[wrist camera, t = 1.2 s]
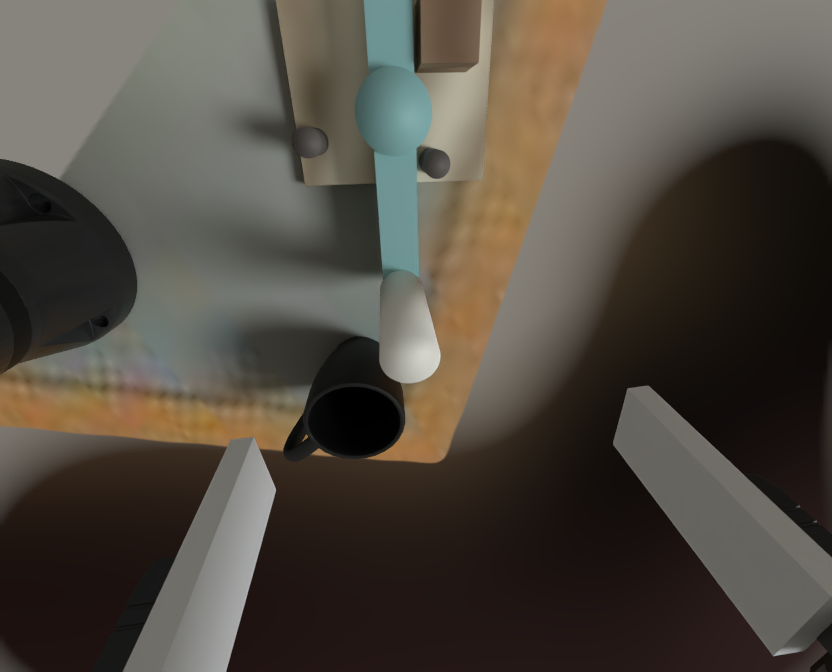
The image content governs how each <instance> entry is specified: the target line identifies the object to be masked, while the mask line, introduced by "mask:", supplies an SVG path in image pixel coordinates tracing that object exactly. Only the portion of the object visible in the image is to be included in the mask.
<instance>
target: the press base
mask: <svg viewBox="0 0 832 672" xmlns="http://www.w3.org/2000/svg"><path fill="white" fill-rule="evenodd" d="M416 1H417V0H413V39H414V74H415V75H416V76H417V77H418V78H419V79H420V80H421V81H422V82H423V84H424V85H425V87H426V89H427V91H428V94H429V96H430V100H431V105H432V120H431V125H430V129H429V131H428V134H427V136H426V138H425V139H424V141H423V142H422V143H421V144H420V145H419V146H418V147H417V148H416V152H417V182H436V181H466V180H483V165H484V149H485V133H486V117H487V101H488V85H489V69H490V53H491V37H492V21H493V5H494V0H482V8H481V28H480V48H479V63H478V64H476V65H475V66H473V67H472V68H471V69H469V70H468V71H467V72H453V73H416V46H415V4H416ZM276 5H277V11H278V18H279V24H280V30H281V36H282V43H283V49H284V55H285V62H286V68H287V74H288V80H289V87H290V93H291V99H292V105H293V112H294V118H295V124H296V131H295V132H294V134H293V136H292V145H293V148H294V150H295V151H296V153H297V154H298V155H300V156H301V162H302V168H303V174H304V181H305V186H317V185H347V184H376V171H375V157H374V149H373V148H372V147H371V146H370V145H369V144H368V143H367V142H366V141H365V140H364V138H363V137H362V135H361V133H360V131H359V128H358V126H357V122H356V117H355V102H356V97H357V94H358V91H359V89H360V87H361V85H362V83H363V82H364V80H365V79H366V78H367V77H368V76H369V68H368V54H367V39H366V25H365V11H364V0H276Z"/></svg>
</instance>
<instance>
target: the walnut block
mask: <svg viewBox="0 0 832 672" xmlns="http://www.w3.org/2000/svg"><path fill="white" fill-rule="evenodd" d="M481 8H482V0H417V1H416V4H415V46H416V73H453V72H467V71H468V70H469V69H471V68H472V67H473V66H475V65H476V64H478V63H479V48H480V28H481Z"/></svg>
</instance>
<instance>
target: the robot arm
mask: <svg viewBox="0 0 832 672" xmlns="http://www.w3.org/2000/svg"><path fill="white" fill-rule="evenodd" d="M136 293H137V278H136V271H135V267H134V264H133V260H132V258H131V255H130V253H129V251H128V249H127V247H126V245H125V243H124V241H123V240H122V238H121V236H120V235H119V233H118V232H117V230H116V229H115V228H114V226H113V225H112V224H111V223H110V221H109V220H108V219H107V218H106V217H105V216H104V215H103V214H102V213H101V212H100V211H99V210H98V209H97V208H96V207H95V206H94V205H93V204H92V203H91V202H90V201H89V200H87V199H86V198H85V197H84V196H82V195H81V194H80V193H78V192H77V191H76V190H74V189H73V188H71V187H70V186H68V185H67V184H65V183H63V182H62V181H60V180H58V179H56V178H55V177H53V176H50V175H49V174H47V173H45V172H42V171H40V170H37V169H35V168H33V167H30V166H26V165H24V164H21V163H17V162H13V161H9V160H4V159H0V374H2V373H4V372H5V371H7V370H8V369H10V368H12V367H13V366H15V365H16V364H18V363H22V362H25V361H29V360H33V359H37V358H40V357H44V356H48V355H52V354H55V353H59V352H63V351H67V350H70V349H74V348H78V347H81V346H84V345H87V344H89V343H92V342H94V341H96V340H98V339H100V338H101V337H103V336H104V335H106V334H107V333H108V332H110V331H111V330H112V329H114V328H115V327H117V326H118V325H119V324H120V323H121V322H123V321H124V320H125V318H126V317H127V316H128V314H129V313H130V311H131V309H132V307H133V305H134V302H135V299H136ZM613 445H614V446H615V447H616V448H617V450H618V451H619V453H620V454H621V455H622V456H623V457H624V459H625V460H626V462H627V463H628V464H629V466H630V467H631V468H632V470H633V471H634V472H635V474H636V475H637V476H638V478H639V479H640V480H641V482H642V483H643V484H644V486H645V487H646V488H647V490H648V491H649V492H650V493H651V495H652V496H653V498H654V499H655V500H656V501H657V503H658V504H659V505H660V507H661V508H662V509H663V511H664V512H665V513H666V515H667V516H668V517H669V519H670V520H671V521H672V523H673V524H674V525H675V527H676V528H677V529H678V530H679V532H680V533H681V534H682V536H683V537H684V539H685V540H686V541H687V542H688V544H689V545H690V546H691V548H692V549H693V550H694V552H695V553H696V554H697V556H698V557H699V558H700V560H701V561H702V562H703V564H704V565H705V566H706V567H707V569H708V570H709V572H710V573H711V574H712V576H713V577H714V578H715V579H716V581H717V582H718V583H719V585H720V586H721V587H722V589H723V590H724V591H725V593H726V594H727V595H728V597H729V598H730V599H731V601H732V602H733V603H734V605H735V606H736V607H737V608H738V610H739V611H740V613H741V614H742V615H743V616H744V618H745V619H746V620H747V622H748V623H749V624H750V626H751V627H752V628H753V630H754V631H755V632H756V633H757V635H758V636H759V638H760V639H761V640H762V641H763V643H764V644H765V646H766V647H767V648H768V649H769V651H770V652H771V654H772V655H773V656H776V655H782V654H788V653H794V652H800V651H805V650H806V649H807V648H808V647H809V646H810V645H811V644H812V643H813V642H814V641H815V640H816V639H817V640H818V641H819V642H820V643H821V644H822V646H823V647H824V648H825V649H826V650H827V651H828V652H827V653H826V654H825V655H824V656H822V657H821V658H820V659H819V660H818V661H817V662H815V663H814V664H813V665H812V666H811V667H810V672H832V534H831V533H829V531H827V530H826V529H825V528H824V527H823V526H822V525H818V524H817V521H816V520H815V519H814V518H813V517H812V516H811V515H809V514H808V513H807V512H806V511H805V510H802V509H801V508H800V506H799V505H798V504H797V503H796V502H795V501H794V500H792V499H791V498H790V497H789V496H788V495H787V494H786V493H784V492H783V491H782V490H781V489H780V488H779V487H777V486H775V485H774V484H772V483H770V482H769V481H767V480H765V479H764V478H761V477H760V476H759V475H757V474H750V475H743V474H742V473H741V472H740V471H739V470H738V469H737V468H736V467H735V466H733V465H732V464H731V463H730V462H729V461H728V460H727V459H726V458H725V457H724V456H723V455H722V454H721V453H720V452H718V450H716V449H715V448H714V447H713V446H712V445H711V444H710V443H709V442H708V441H707V440H706V439H705V438H704V437H703V436H702V435H700V434H699V433H698V432H697V431H696V430H695V429H694V428H693V427H692V426H691V425H690V424H689V423H688V422H687V421H686V420H684V419H683V418H682V417H681V416H680V415H679V414H678V413H677V412H676V411H675V410H674V409H672V407H671V406H670V405H668V404H667V403H666V402H665V401H664V400H663V399H662V398H661V397H660V396H659V395H658V394H657V393H656V392H654V390H652V389H651V388H650V387H649V386H643V387H636V388H628V389H627V393H626V397H625V401H624V405H623V408H622V412H621V416H620V419H619V423H618V427H617V431H616V435H615V438H614V442H613ZM275 492H276V489H275V486H274V484H273V481H272V479H271V477H270V474H269V472H268V470H267V467H266V465H265V462H264V460H263V458H262V455H261V453H260V451H259V448H258V446H257V443H256V441H255V439H254V437H249V438H241V439H234V440H231V441H230V443H229V445H228V447H227V449H226V451H225V454H224V456H223V458H222V460H221V462H220V464H219V466H218V469H217V471H216V473H215V475H214V477H213V479H212V482H211V484H210V486H209V488H208V490H207V492H206V495H205V497H204V499H203V501H202V503H201V505H200V508H199V510H198V511H197V514H196V516H195V518H194V520H193V522H192V524H191V527H190V529H189V531H188V533H187V535H186V537H185V539H184V542H183V544H182V546H181V548H180V550H179V552H178V554H177V557H173V558H166V559H159V560H157V561H156V562H155V563H154V564H153V565H152V566H151V568H150V569H149V570H148V571H147V572H146V573H145V575H144V576H143V577H142V578H141V579H140V580H139V582H138V583H137V585H136V587H135V589H134V591H133V593H132V595H131V597H130V599H129V601H128V602H127V604H126V609H125V611H123V612H122V614H121V616H120V618H119V620H118V621H117V623H116V626H115V630H114V632H112V633H111V635H110V637H109V639H108V641H107V642H106V644H105V646H104V648H103V650H102V652H101V654H100V656H99V658H98V660H97V661H96V664H95V665H94V667H93V669H92V671H91V672H226V669H227V666H228V662H229V659H230V655H231V651H232V648H233V644H234V640H235V637H236V633H237V629H238V625H239V622H240V618H241V615H242V611H243V608H244V604H245V600H246V597H247V593H248V590H249V586H250V582H251V579H252V575H253V572H254V568H255V564H256V561H257V557H258V553H259V549H260V546H261V543H262V539H263V535H264V531H265V528H266V524H267V521H268V517H269V513H270V510H271V506H272V503H273V499H274V495H275Z"/></svg>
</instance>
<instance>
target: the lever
mask: <svg viewBox="0 0 832 672" xmlns="http://www.w3.org/2000/svg"><path fill="white" fill-rule="evenodd" d="M364 11H365V25H366V39H367V54H368V68H369V76H368V77H367V78H366V79H365V80H364V82H363V83H362V85H361V87H360V89H359V91H358V94H357V97H356V102H355V117H356V122H357V126H358V128H359V131H360V133H361V135H362V137H363V138H364V140H365V141H366V142H367V143H368V144H369V145H370V146H371V147H372V148H373V149H374V157H375V171H376V185H377V199H378V214H379V228H380V242H381V256H382V271H383V281H382V283H381V286H380V346H379V361H380V365H381V368H382V370H383V371H384V373H385V374H386V375H387V376H388V377H390V378H391V379H393V380H395V381H398V382H401V383H416V382H420V381H422V380H425V379H426V378H428V377H429V376H431V375H432V374H433V373H434V372H435V370H436V369H437V367H438V365H439V363H440V350H439V346H438V342H437V339H436V335H435V331H434V327H433V324H432V320H431V316H430V312H429V308H428V305H427V301H426V297H425V293H424V290H423V286H422V283H421V281H420V279H419V257H418V205H417V152H416V148H417V147H418V146H419V145H420V144H421V143H422V142H423V141H424V139H425V138H426V136H427V134H428V131H429V129H430V125H431V120H432V105H431V100H430V96H429V94H428V91H427V89H426V87H425V85H424V84H423V82H422V81H421V80H420V79H419V78H418V77H417V76H416V75H415V74H414V39H413V0H364Z"/></svg>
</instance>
